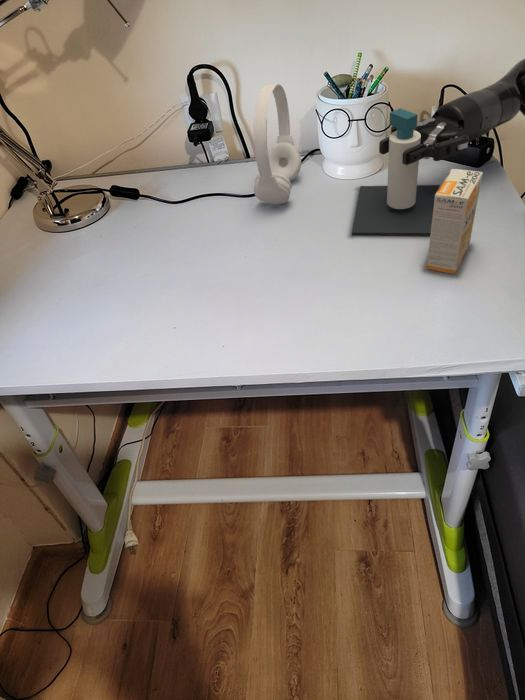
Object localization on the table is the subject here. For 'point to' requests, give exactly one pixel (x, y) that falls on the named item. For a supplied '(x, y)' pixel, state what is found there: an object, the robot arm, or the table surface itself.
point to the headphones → (274, 150)
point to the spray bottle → (399, 174)
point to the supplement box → (453, 219)
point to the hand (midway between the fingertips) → (392, 153)
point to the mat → (393, 213)
